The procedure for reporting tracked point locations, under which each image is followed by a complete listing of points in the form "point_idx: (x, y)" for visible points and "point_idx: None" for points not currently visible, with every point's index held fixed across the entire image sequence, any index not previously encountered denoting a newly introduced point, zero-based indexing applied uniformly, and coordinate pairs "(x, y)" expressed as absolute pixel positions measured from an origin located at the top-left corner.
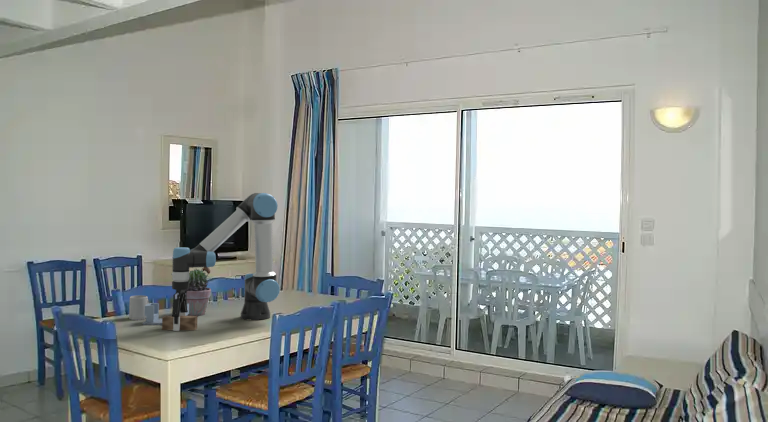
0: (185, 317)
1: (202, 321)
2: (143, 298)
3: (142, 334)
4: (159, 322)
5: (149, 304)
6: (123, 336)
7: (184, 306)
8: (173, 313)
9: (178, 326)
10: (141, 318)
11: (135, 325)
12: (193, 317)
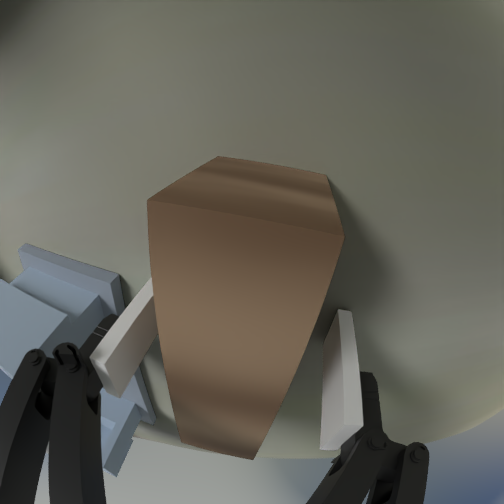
0: (279, 364)
1: (11, 170)
2: (46, 449)
3: None
4: (130, 388)
5: None
6: None
7: (80, 441)
8: (391, 483)
9: (353, 344)
10: None
11: (174, 431)
12: (293, 264)
